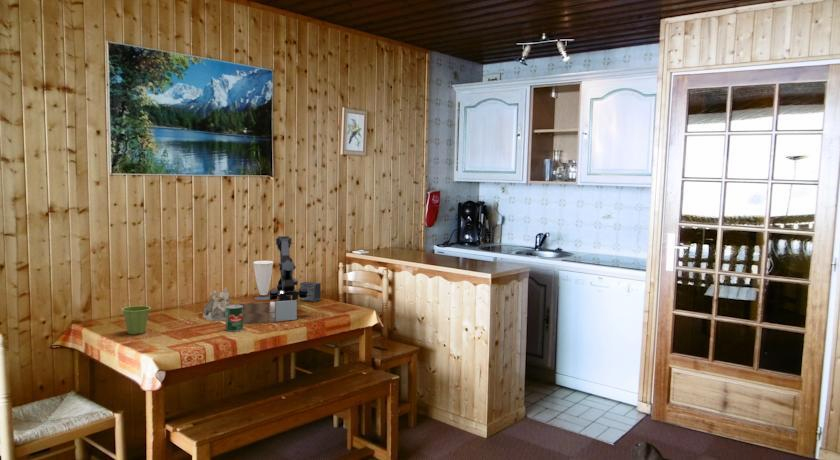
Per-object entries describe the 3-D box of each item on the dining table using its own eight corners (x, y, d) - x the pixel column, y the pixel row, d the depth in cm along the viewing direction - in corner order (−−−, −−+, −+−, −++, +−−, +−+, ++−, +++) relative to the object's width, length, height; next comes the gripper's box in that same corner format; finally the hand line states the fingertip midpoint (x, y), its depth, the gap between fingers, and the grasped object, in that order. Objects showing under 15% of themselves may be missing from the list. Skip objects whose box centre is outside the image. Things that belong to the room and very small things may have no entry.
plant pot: (149, 335, 267) (148, 310, 266) (119, 336, 264) (119, 311, 263) (152, 328, 279) (152, 305, 278) (124, 330, 275) (124, 306, 274)
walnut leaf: (274, 321, 297) (274, 301, 296) (275, 322, 294) (275, 302, 293) (239, 323, 292) (239, 302, 291) (239, 324, 290) (239, 303, 289)
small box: (321, 300, 349) (321, 282, 348) (314, 302, 343) (314, 284, 342) (306, 298, 353) (306, 281, 353) (299, 300, 348) (299, 282, 347)
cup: (250, 299, 348) (249, 262, 346) (259, 295, 359) (258, 260, 357) (268, 300, 346) (268, 263, 344) (277, 296, 357) (276, 260, 355)
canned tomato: (233, 332, 275) (233, 308, 274) (221, 329, 279) (221, 306, 278) (246, 328, 281) (246, 305, 280) (235, 326, 286) (235, 303, 285)
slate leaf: (270, 322, 293) (270, 302, 293) (269, 321, 296) (269, 301, 295) (297, 319, 299) (297, 300, 299) (295, 318, 302) (295, 299, 301)
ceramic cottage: (209, 312, 313) (209, 284, 310) (238, 315, 310) (238, 287, 308) (193, 321, 298) (192, 292, 295) (223, 324, 295) (223, 295, 292)
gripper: (269, 273, 300) (271, 300, 291) (306, 272, 305) (310, 298, 296) (268, 286, 308) (270, 312, 299) (305, 284, 314) (308, 309, 305)
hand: (289, 307), depth 299 cm, fingers closed
